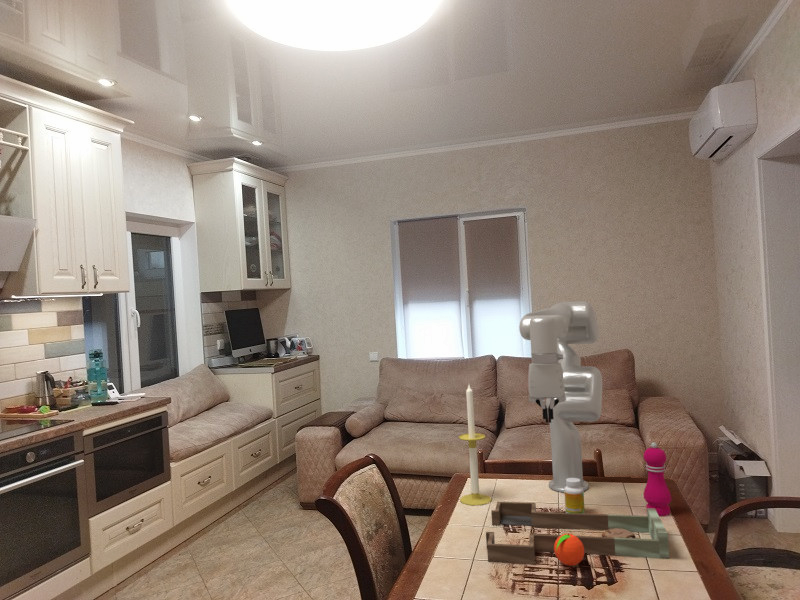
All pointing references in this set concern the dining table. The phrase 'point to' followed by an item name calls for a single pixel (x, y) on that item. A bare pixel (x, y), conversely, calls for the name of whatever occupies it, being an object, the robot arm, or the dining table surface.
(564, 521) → the channel
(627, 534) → the cookie
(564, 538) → the clementine
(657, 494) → the pepper mill
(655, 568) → the dining table surface
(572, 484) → the supplement bottle
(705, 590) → the dining table surface
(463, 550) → the dining table surface
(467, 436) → the candle
